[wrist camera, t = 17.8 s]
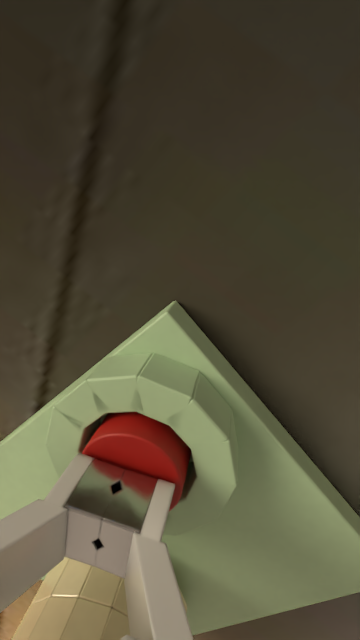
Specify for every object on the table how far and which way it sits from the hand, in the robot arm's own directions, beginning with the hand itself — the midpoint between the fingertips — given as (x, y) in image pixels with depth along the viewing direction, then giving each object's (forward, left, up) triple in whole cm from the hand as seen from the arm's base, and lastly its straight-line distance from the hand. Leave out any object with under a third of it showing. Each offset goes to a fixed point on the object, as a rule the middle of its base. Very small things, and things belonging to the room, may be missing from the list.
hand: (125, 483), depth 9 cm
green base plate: (+4, +3, -4) cm, 6 cm away
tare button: (0, 0, -2) cm, 2 cm away
